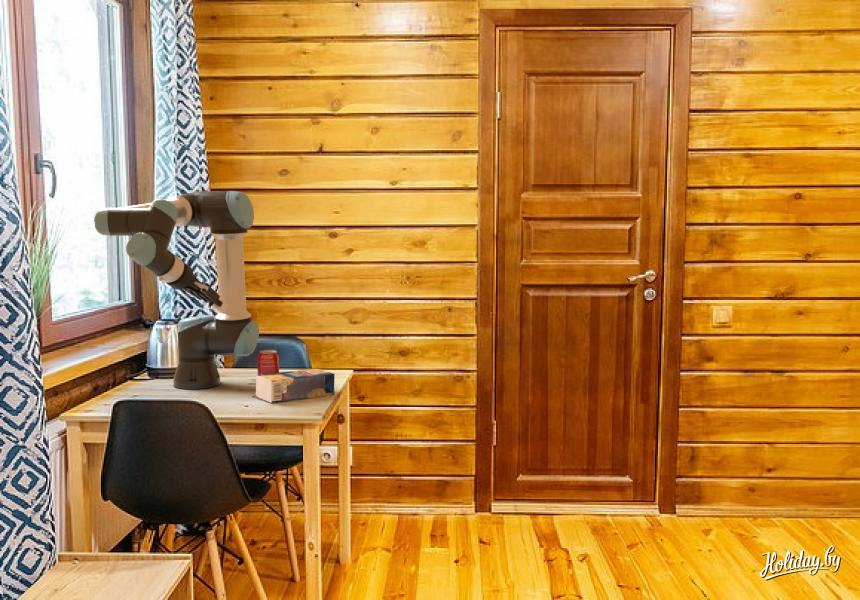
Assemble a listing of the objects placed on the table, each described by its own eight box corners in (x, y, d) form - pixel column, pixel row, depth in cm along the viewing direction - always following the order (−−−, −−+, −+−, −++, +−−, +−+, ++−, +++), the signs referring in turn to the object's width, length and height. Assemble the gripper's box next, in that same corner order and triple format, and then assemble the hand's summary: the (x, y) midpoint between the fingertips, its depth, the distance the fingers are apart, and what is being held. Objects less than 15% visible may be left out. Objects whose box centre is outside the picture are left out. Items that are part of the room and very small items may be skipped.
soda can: (270, 383, 255) (270, 348, 254) (283, 386, 250) (283, 351, 249) (253, 386, 249) (253, 351, 248) (266, 389, 245) (266, 353, 244)
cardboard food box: (255, 396, 234) (317, 388, 248) (271, 403, 225) (334, 395, 239) (255, 374, 233) (317, 368, 247) (271, 380, 225) (334, 374, 238)
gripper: (151, 279, 207) (203, 315, 227) (184, 287, 201) (234, 324, 220) (164, 256, 210) (214, 294, 229) (196, 263, 203) (245, 301, 223)
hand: (224, 308), depth 225 cm, fingers closed
